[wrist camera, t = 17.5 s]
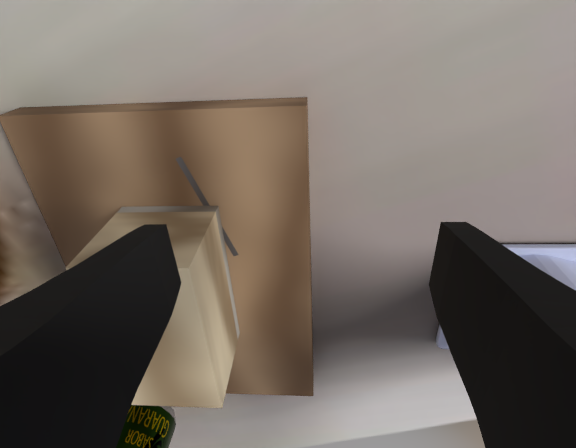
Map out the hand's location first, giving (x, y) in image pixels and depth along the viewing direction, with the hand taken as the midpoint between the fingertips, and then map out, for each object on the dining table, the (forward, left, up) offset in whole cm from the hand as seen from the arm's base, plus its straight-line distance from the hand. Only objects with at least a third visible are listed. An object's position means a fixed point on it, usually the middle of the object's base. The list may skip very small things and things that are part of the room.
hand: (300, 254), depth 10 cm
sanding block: (+7, +7, -8) cm, 13 cm away
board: (+7, +8, -9) cm, 14 cm away
